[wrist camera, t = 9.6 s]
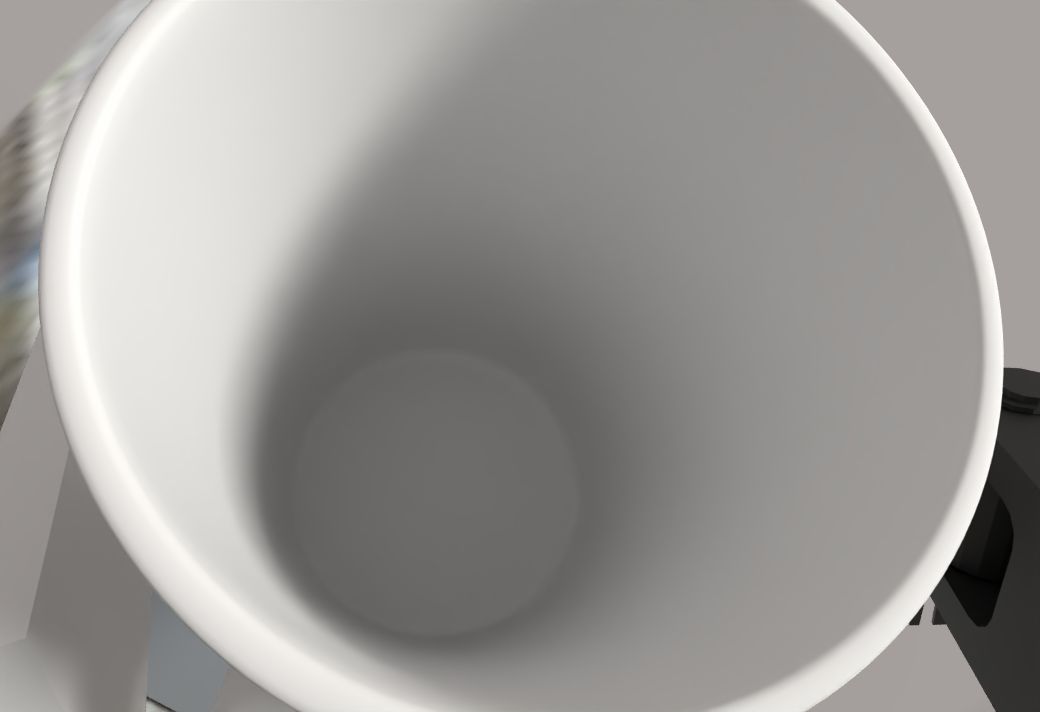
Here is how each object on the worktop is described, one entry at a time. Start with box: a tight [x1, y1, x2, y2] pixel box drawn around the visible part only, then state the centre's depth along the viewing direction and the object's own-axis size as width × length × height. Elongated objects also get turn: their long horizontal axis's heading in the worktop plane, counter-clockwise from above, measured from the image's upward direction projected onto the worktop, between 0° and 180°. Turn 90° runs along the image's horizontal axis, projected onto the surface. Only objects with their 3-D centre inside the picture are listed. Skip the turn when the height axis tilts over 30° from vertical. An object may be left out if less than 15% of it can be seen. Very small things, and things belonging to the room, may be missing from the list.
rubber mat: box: [146, 589, 229, 712], centre depth 26 cm, size 12×12×1 cm
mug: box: [38, 0, 1003, 712], centre depth 10 cm, size 10×7×12 cm, turn 151°
